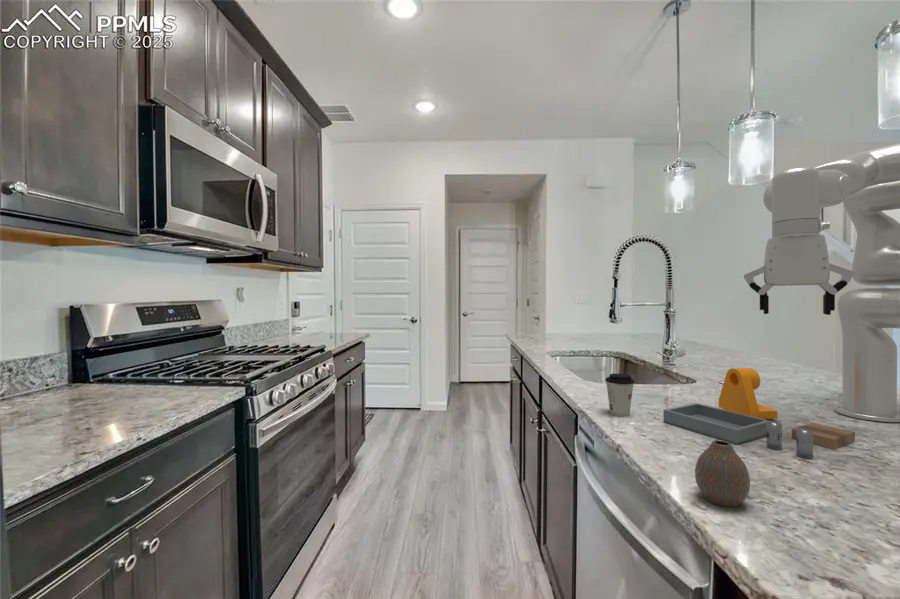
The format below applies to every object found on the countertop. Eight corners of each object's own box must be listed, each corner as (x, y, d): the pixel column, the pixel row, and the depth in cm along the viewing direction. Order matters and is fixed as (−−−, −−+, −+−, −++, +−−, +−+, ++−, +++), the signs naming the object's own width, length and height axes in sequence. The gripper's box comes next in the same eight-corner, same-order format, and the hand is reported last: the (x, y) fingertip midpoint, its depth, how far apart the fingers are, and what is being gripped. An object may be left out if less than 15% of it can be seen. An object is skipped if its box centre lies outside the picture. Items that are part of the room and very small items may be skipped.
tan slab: (812, 433, 91) (812, 422, 91) (854, 444, 85) (854, 432, 84) (791, 440, 87) (791, 428, 87) (834, 452, 81) (834, 439, 80)
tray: (696, 414, 104) (696, 403, 104) (771, 434, 89) (771, 421, 89) (663, 422, 98) (663, 409, 98) (737, 444, 84) (737, 430, 83)
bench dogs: (770, 444, 84) (770, 420, 83) (815, 457, 77) (815, 431, 77) (764, 446, 82) (764, 421, 82) (809, 459, 76) (809, 433, 76)
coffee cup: (605, 416, 104) (604, 377, 103) (605, 409, 110) (605, 372, 110) (635, 419, 101) (635, 379, 101) (634, 411, 107) (633, 373, 107)
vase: (684, 490, 65) (684, 435, 65) (725, 488, 65) (725, 433, 65) (717, 514, 58) (717, 452, 58) (762, 511, 58) (762, 450, 58)
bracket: (779, 422, 98) (779, 372, 98) (750, 422, 98) (750, 372, 97) (744, 409, 109) (744, 364, 108) (718, 410, 108) (718, 364, 108)
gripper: (849, 228, 82) (849, 313, 82) (743, 236, 92) (743, 312, 92) (858, 223, 76) (858, 315, 76) (743, 232, 86) (744, 314, 86)
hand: (795, 313), depth 84 cm, fingers open, 9 cm apart
